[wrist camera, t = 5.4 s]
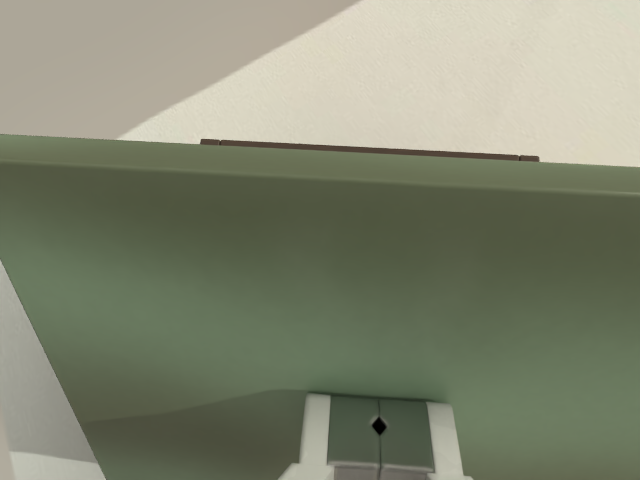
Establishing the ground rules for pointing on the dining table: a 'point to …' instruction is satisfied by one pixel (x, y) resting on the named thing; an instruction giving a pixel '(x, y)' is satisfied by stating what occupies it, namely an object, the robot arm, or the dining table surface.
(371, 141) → the dining table surface
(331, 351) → the lid
